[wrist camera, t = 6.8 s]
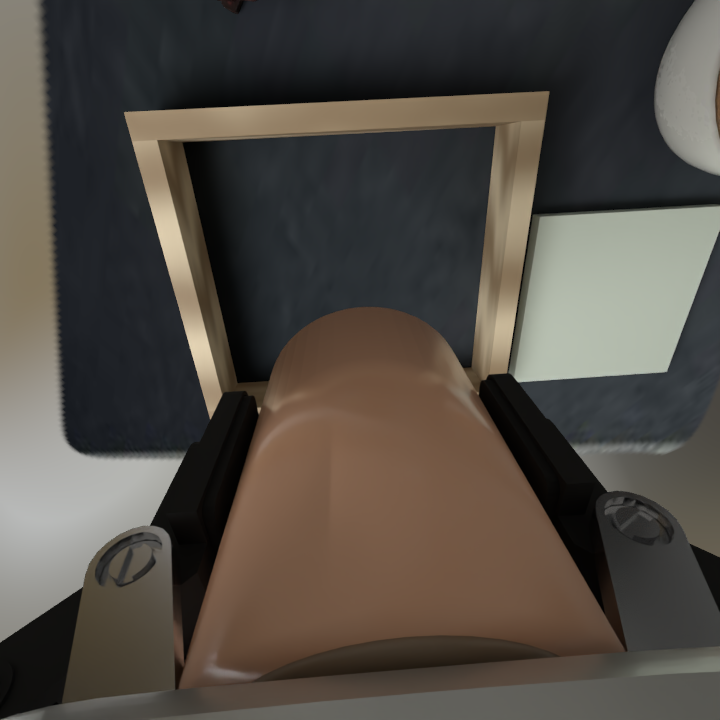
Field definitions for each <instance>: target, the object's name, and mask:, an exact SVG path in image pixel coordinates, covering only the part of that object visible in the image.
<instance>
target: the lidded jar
mask: <svg viewBox="0 0 720 720" xmlns="http://www.w3.org/2000/svg"><path fill="white" fill-rule="evenodd" d="M654 108H655V117H656V121H657V124H658V128H659V130H660V132H661V134H662V136H663V138H664V140H665V142H666V144H667V145H668V146H669V148H670V149H671V150H672V151H673V152H674V153H675V154H676V155H677V156H679V157H680V158H681V159H683V160H684V161H685V162H686V163H688V164H689V165H692V166H694V167H696V168H698V169H700V170H703V171H705V172H708V173H710V174H715V175H719V176H720V0H695V1H694V2H693V4H692V5H691V7H690V8H689V10H688V11H687V12H686V14H685V15H684V17H683V18H682V20H681V21H680V23H679V25H678V27H677V28H676V30H675V32H674V34H673V36H672V37H671V39H670V41H669V43H668V45H667V48H666V50H665V52H664V55H663V57H662V60H661V63H660V67H659V70H658V73H657V79H656V84H655V92H654Z"/></svg>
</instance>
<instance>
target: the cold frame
mask: <svg viewBox="0 0 720 720" xmlns="http://www.w3.org/2000/svg"><path fill="white" fill-rule="evenodd" d="M548 98H549V91H543V92H522V93H502V94H482V95H462V96H442V97H422V98H401V99H381V100H361V101H341V102H321V103H300V104H280V105H260V106H240V107H220V108H200V109H179V110H159V111H139V112H124V114H125V118H126V121H127V125H128V128H129V132H130V136H131V139H132V143H133V146H134V150H135V153H136V157H137V160H138V164H139V168H140V171H141V175H142V178H143V182H144V185H145V189H146V192H147V196H148V199H149V203H150V207H151V210H152V214H153V217H154V221H155V224H156V228H157V231H158V235H159V239H160V242H161V246H162V249H163V253H164V256H165V260H166V263H167V267H168V270H169V274H170V278H171V281H172V285H173V288H174V292H175V295H176V299H177V302H178V306H179V310H180V313H181V317H182V320H183V324H184V327H185V331H186V334H187V338H188V341H189V345H190V349H191V352H192V356H193V359H194V363H195V366H196V370H197V373H198V377H199V380H200V384H201V388H202V391H203V395H204V398H205V402H206V405H207V409H208V412H209V416H210V420H211V418H212V416H213V413H214V411H215V409H216V407H217V405H218V403H219V401H220V399H221V397H222V395H223V393H224V392H233V391H246V392H247V393H248V396H252V395H253V396H254V397H255V400H256V404H257V409H258V414H259V413H260V410H261V406H262V403H263V400H264V396H265V393H266V390H267V386H268V383H269V381H263V382H248V383H237V379H236V375H235V370H234V366H233V361H232V357H231V353H230V348H229V344H228V340H227V335H226V331H225V326H224V322H223V318H222V313H221V309H220V305H219V300H218V296H217V292H216V287H215V283H214V278H213V274H212V270H211V265H210V261H209V257H208V252H207V248H206V243H205V239H204V235H203V230H202V226H201V222H200V217H199V213H198V209H197V204H196V200H195V195H194V191H193V187H192V182H191V178H190V174H189V169H188V165H187V160H186V156H185V152H184V147H183V143H182V142H200V141H219V140H238V139H258V138H277V137H296V136H316V135H335V134H354V133H374V132H393V131H412V130H432V129H451V128H470V127H490V126H496V130H495V140H494V150H493V160H492V170H491V180H490V190H489V200H488V209H487V219H486V229H485V239H484V249H483V259H482V269H481V279H480V289H479V298H478V308H477V318H476V328H475V338H474V348H473V358H472V367H469V368H463V369H464V371H465V373H466V375H467V376H468V378H469V380H470V382H471V383H472V385H473V387H474V389H475V390H476V392H477V394H478V395H479V387H480V382H481V381H482V380H486V378H487V376H488V375H489V374H504V373H507V369H508V362H509V356H510V349H511V342H512V336H513V329H514V323H515V316H516V309H517V303H518V296H519V290H520V283H521V276H522V270H523V263H524V257H525V250H526V243H527V237H528V230H529V224H530V217H531V210H532V204H533V197H534V191H535V184H536V177H537V171H538V164H539V157H540V151H541V144H542V138H543V131H544V124H545V118H546V111H547V105H548Z"/></svg>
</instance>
